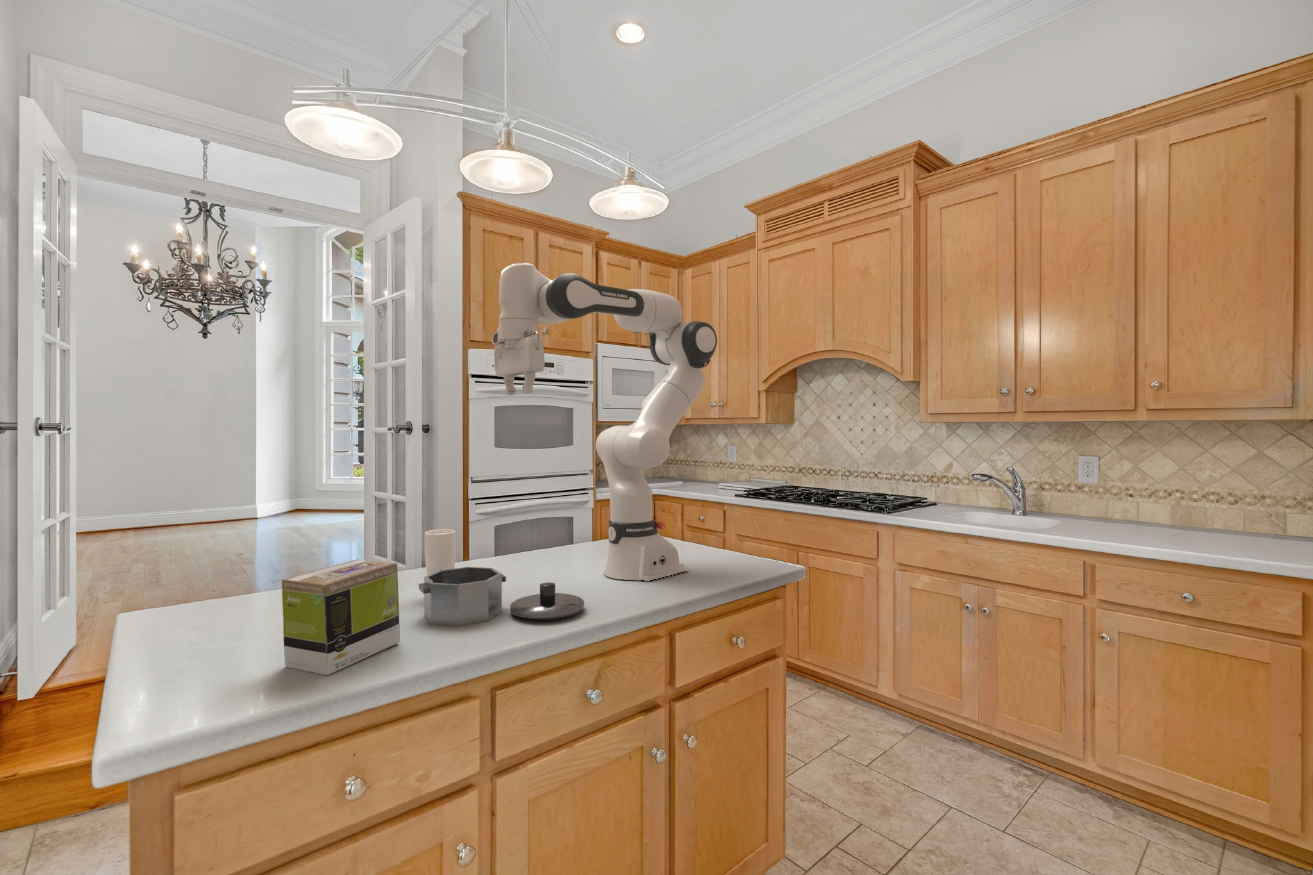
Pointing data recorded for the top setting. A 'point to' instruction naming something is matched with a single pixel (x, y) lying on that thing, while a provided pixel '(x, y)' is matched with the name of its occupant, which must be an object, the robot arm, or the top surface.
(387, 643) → the tea box
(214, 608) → the top surface
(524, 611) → the lid
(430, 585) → the pot
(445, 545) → the drinking glass
